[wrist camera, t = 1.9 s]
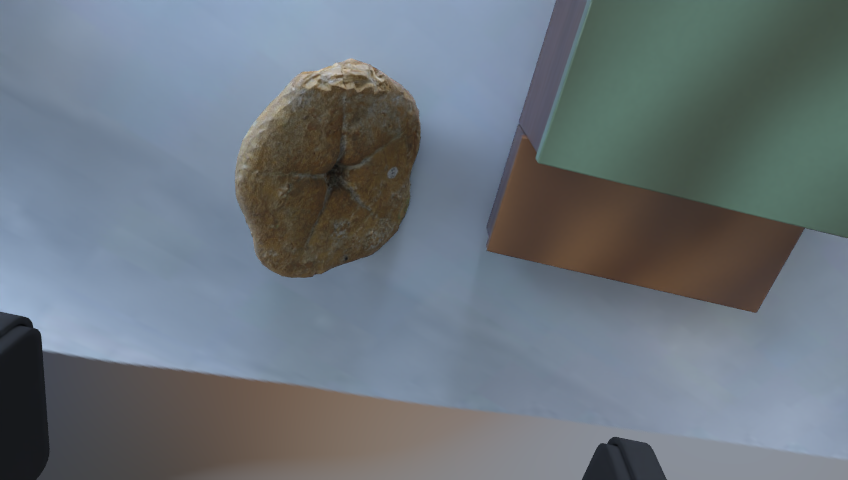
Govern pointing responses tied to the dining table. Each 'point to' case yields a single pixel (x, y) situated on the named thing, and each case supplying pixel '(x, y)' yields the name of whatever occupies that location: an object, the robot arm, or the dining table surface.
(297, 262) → the fossil
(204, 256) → the dining table surface
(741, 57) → the step shelf
